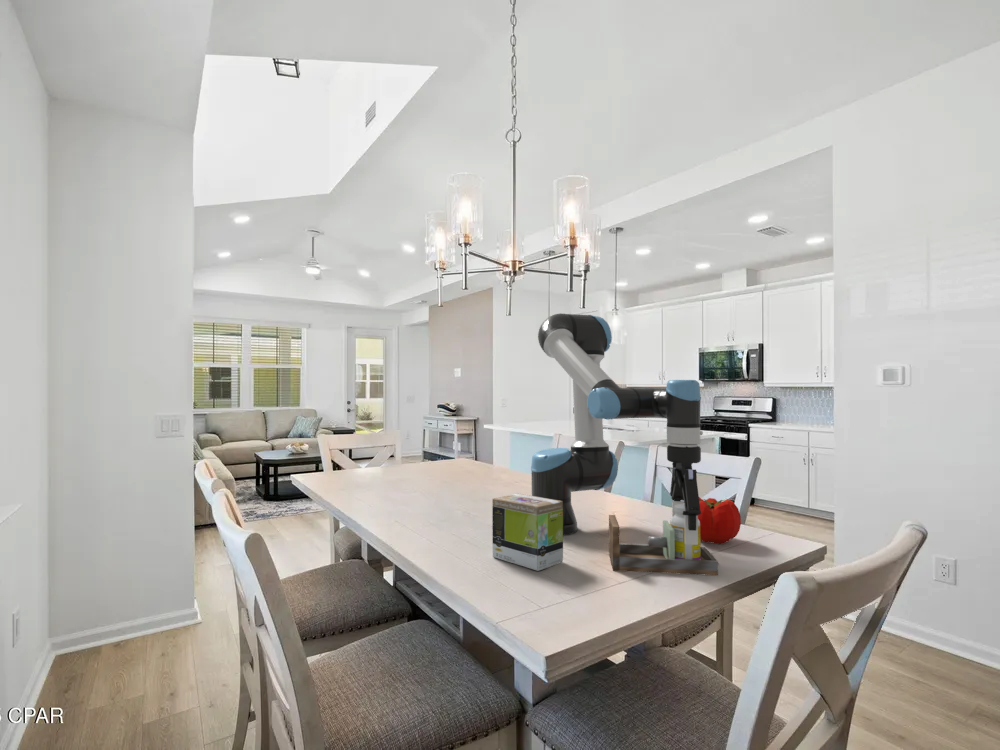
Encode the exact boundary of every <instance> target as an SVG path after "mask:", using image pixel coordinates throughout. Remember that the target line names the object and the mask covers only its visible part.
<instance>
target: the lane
mask: <svg viewBox="0 0 1000 750" xmlns="http://www.w3.org/2000/svg"><path fill="white" fill-rule="evenodd" d="M620 537H621V536H620V525H619V521H618V519H617V517H616V514H608V556H609V560H610V564H611V565H610V566H611V567H612V571H613V572H614V571H615V572H634V573H635V572H636V573H659V574H676V573H680V574H681V575H698V574H705V576H719V561H718V560H717V559H716V558H715V556H713V554H712V553H711V552H710V551H709V549H707V547H706V546H701V560H689V559H666V558H665V556H664V554H663V548H662V547H649V544H648V543H646V544H642V543H640V544H639V543H620V542H621V541H620V539H621V538H620ZM680 574H679V575H680Z"/></svg>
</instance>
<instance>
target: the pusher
mask: <svg viewBox="0 0 1000 750" xmlns="http://www.w3.org/2000/svg"><path fill="white" fill-rule="evenodd" d="M647 541H648V542H647V545H649V547H662V548H663V554H664V556H665V558H666V559H675V530H674V529H673V528H672V526H671V525H670V522H669V521H668V520H662V536H650V535H649V536H648V538H647Z"/></svg>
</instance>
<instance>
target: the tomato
mask: <svg viewBox="0 0 1000 750" xmlns="http://www.w3.org/2000/svg"><path fill="white" fill-rule="evenodd" d="M699 503H700V511H701V514H700V515H698V519H699V521H700V542H701V541H702V542H704V543H707V544H716V545H721V544H723V545H724V544H725V543H728V542H729V541H730V540H732V539H734V538H736V537H737V535H738V534H739V532H740V530H741V525H742V519H741V518H742V517H741V513H740V509H739V508H738V507H737V504H735V502H734V501H732V500H731V499H723V500H722V499H720V500H717V499H716V498H712V497H708V498H707V499H705V498H701V497H699Z"/></svg>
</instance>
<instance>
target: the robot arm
mask: <svg viewBox="0 0 1000 750" xmlns="http://www.w3.org/2000/svg"><path fill="white" fill-rule="evenodd" d="M612 338H613V337H612V330H611V327H610V325H609V324H608V321H606V320H605V319H604V318H603V317H601V316H596V315H591V314H573V313H555V314H552V315H550V316H549V317H547V318H546V319H545V320H544V321H542V323H541V325H540V327H539V329H538V333H537V339H538V344H539V346H540V348H541V350H542V351H543V352H544V353H545V355H546V356H548V357H549V358H551V359H555V361H556V362H557V363H558V364H559V365H560V366H561V368H562V370H563V369H564V371H565V372H566V374H567V375H569V377H570V378H571V379H572V389H573V390H572V393H573V395H572V397H573V415H574V419H573V420H574V438H575V440H574V442H573V443H572V444H571V445H570V448H567V447H556V448H555V447H554V448H546V449H541V450H538V451H537V452H535V453H534V454H533V455H532V458H531V466H530V471H531V496H536V497H542V498H547V499H553V500H560V501H563V536H568V535H573V534H575V533H576V532H577V531H578V522H577V521H578V520H577V519H576V514H575V512H574V508H573V506H572V493H574V492H575V493H576V492H583V491H584V492H585V491H591V490H592V491H599V490H603V489H607V488H608V489H609V488H610V487H611V486H612V485H613V483H614V482H615V481H616V479H617V476H618V471H619V463H618V459H617V458H616V455H615V453H614V452H612V451H611V450H610V445H609V443H607V442H606V441H605V440H604V423H603V421H604V420H619V419H621V420H622V419H652V418H653V419H654V418H655V419H656V418H657V419H666V443H667V444H668V445H667V446H666V460H667V461H668V462H671V465H672V474H671V480H670V481H671V484H670V490H669V491H670V492H669V496H670V498H671V512H672V513H671V515H672V516H671V518H672V517H673V516H675V511H674V506H675V505H678V504H684V505H685V511H683V513H682V514H683V515H684V528H685V544H689V545H698V515H700V514H701V511H700V503H699V490H698V489H699V488H698V480H697V478H698V477H697V469H693V464H699V463H700V462H701V460H702V451H701V449H702V448H701V447H700V446H699V445H700V444H701V436H702V435H704V434H703V433H704V432H703V431H702V430H701V402H702V401H701V400H702V397H701V388H700V383H699V382H700V381H697V380H695V379H669V380H668V381H667V382H666V387H663V388H662V387H620V386H619V385H618V384H617V383H616V382H615V381H614V380H613V379H612V378H611V377H610V376H609V375H608V374H607V373H606V372H605V371H604V370H603V369H602V368H601V362H602V361H603V360H604V359H605V353H606V352H607V351H608V350H609V349H610V347H611V344H612Z"/></svg>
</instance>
